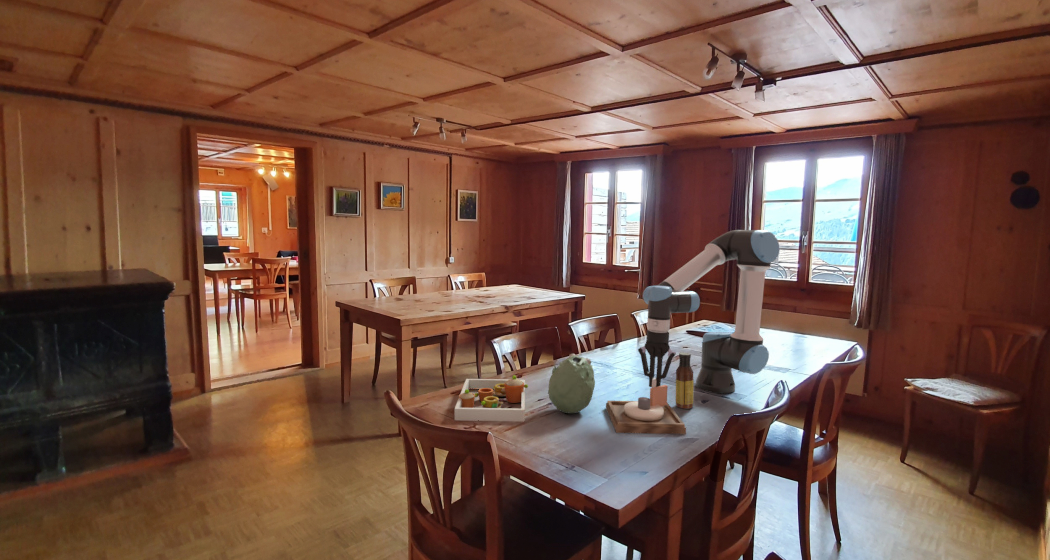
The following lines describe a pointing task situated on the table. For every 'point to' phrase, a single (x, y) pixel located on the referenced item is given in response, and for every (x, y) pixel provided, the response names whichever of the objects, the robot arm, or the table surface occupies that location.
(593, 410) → the table surface
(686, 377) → the sauce bottle
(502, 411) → the tea tray rim
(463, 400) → the toy tea set
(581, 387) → the green monster figurine
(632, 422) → the brown wooden tray
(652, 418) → the dial
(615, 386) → the table surface
